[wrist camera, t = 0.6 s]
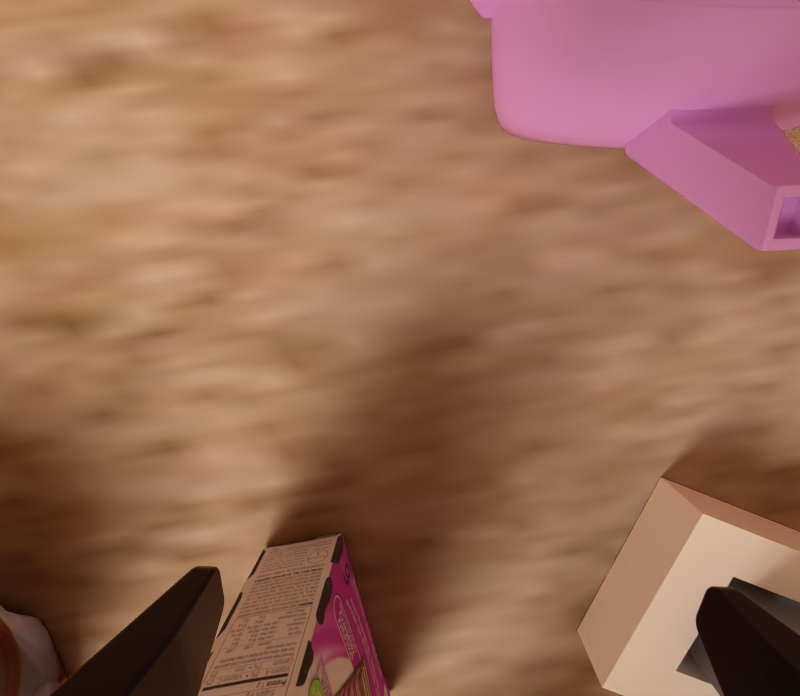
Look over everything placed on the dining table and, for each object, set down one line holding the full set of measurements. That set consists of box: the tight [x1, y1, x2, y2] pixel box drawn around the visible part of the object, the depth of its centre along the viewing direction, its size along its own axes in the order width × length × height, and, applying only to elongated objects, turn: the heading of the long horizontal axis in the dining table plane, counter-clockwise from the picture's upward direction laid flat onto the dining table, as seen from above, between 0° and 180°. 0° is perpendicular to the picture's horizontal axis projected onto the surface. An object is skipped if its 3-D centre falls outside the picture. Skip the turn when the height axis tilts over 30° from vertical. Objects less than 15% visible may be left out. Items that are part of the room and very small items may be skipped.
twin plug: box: [688, 577, 800, 696], centre depth 20 cm, size 4×5×8 cm
